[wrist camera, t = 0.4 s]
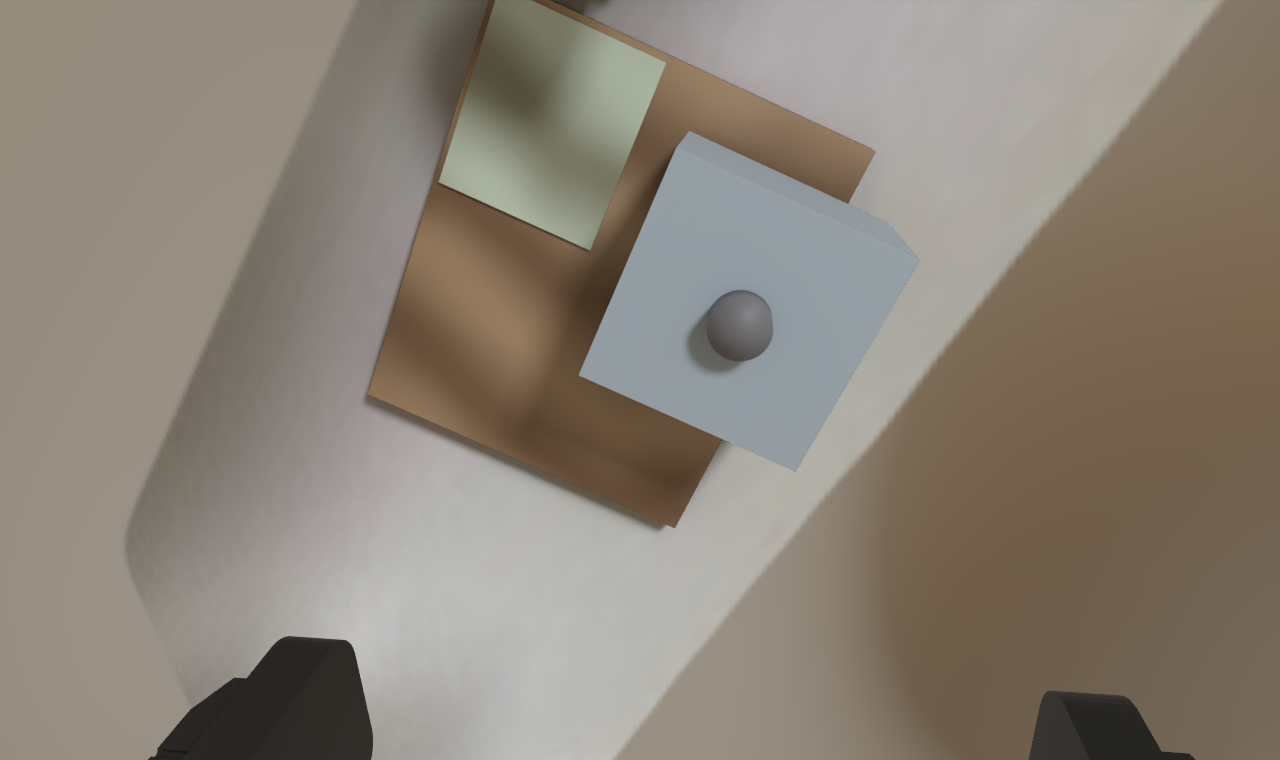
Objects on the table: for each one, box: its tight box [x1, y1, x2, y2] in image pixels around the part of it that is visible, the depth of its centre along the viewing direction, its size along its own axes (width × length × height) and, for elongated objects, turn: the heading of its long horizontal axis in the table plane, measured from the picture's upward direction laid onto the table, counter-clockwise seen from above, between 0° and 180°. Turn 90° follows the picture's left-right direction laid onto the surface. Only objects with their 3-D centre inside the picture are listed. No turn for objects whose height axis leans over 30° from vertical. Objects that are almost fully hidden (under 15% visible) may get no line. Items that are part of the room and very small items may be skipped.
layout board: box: [368, 0, 875, 528], centre depth 32 cm, size 18×15×2 cm
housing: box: [579, 131, 921, 472], centre depth 27 cm, size 8×8×7 cm
